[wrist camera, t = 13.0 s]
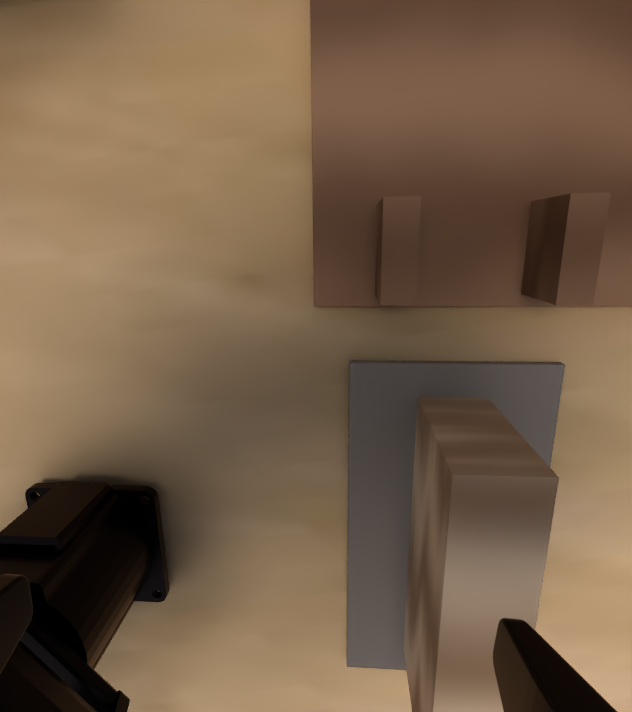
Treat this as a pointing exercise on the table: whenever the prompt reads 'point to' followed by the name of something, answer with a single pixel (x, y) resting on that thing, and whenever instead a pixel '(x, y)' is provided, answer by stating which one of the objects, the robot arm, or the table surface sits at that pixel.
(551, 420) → the slate mat
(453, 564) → the plywood sheet
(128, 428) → the table surface
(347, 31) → the offcut rack
